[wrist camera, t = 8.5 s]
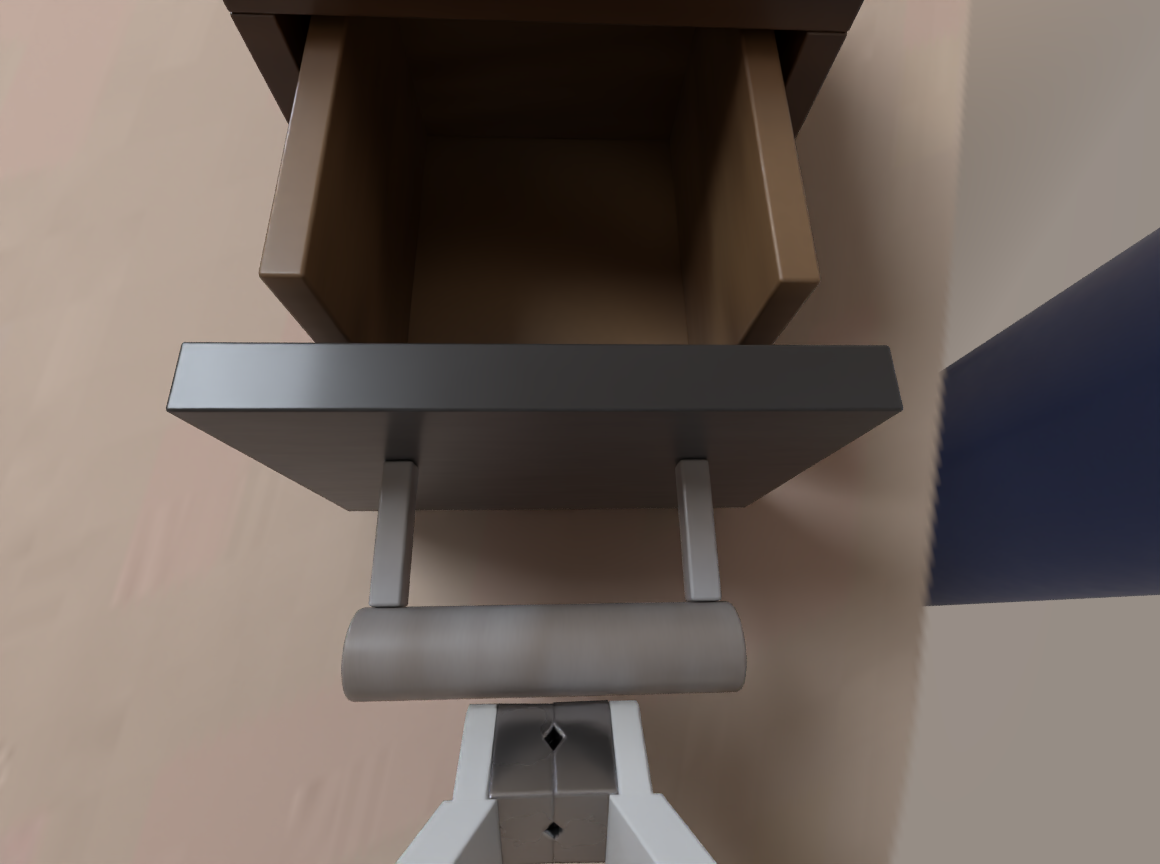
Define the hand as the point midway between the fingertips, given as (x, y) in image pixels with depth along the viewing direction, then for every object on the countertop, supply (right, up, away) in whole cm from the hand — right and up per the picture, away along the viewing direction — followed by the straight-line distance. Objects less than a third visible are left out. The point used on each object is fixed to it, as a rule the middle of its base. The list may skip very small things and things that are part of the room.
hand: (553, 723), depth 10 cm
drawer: (0, +7, +8) cm, 11 cm away
